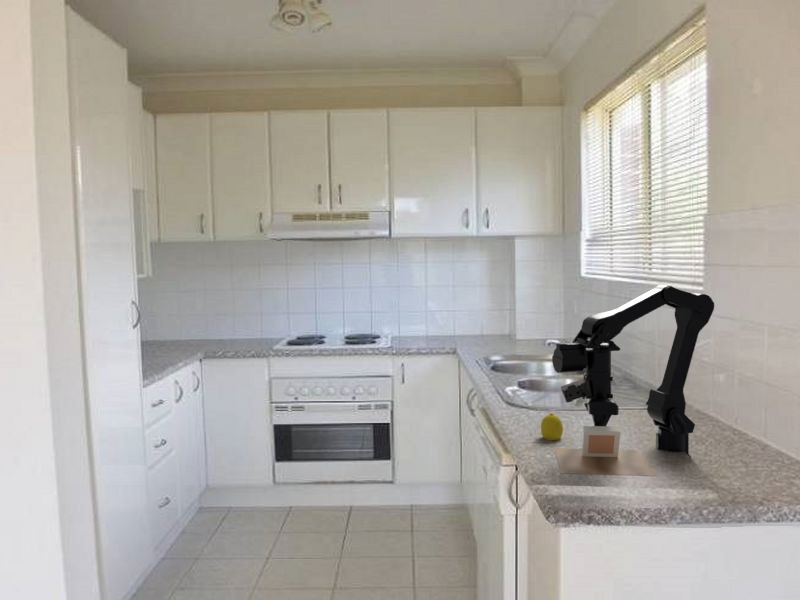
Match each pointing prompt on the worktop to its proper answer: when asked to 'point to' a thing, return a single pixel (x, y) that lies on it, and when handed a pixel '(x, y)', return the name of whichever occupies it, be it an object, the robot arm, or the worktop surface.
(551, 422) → the lemon
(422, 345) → the worktop surface
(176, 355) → the worktop surface
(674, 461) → the worktop surface
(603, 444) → the block
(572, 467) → the board
